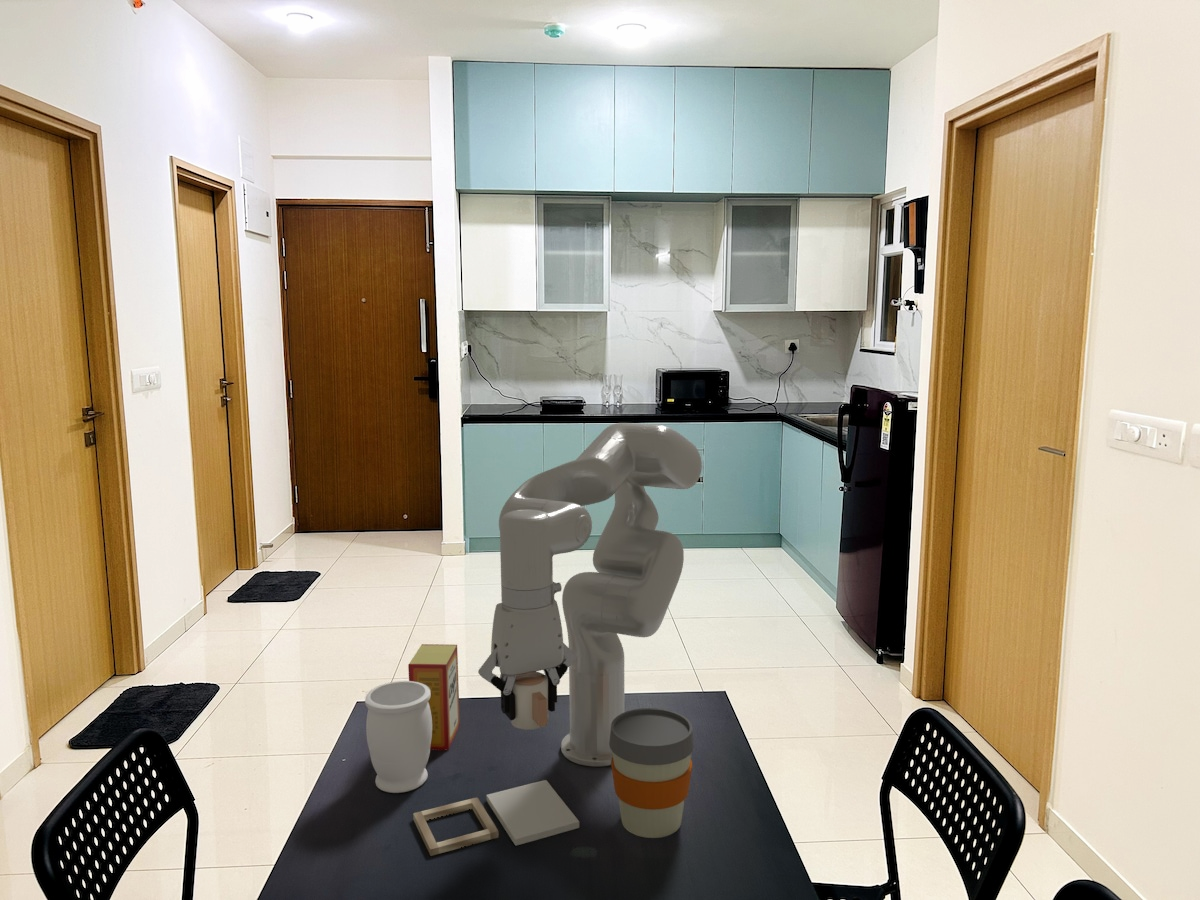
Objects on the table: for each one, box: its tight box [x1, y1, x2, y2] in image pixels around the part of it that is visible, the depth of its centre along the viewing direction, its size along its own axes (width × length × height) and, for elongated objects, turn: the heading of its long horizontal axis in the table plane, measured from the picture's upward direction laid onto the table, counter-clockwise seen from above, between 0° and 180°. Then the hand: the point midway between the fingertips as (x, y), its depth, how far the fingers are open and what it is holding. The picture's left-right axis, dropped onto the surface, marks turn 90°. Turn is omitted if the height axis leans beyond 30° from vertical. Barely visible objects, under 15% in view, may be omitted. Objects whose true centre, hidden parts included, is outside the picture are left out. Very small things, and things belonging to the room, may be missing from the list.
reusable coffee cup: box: [609, 707, 695, 839], centre depth 128 cm, size 13×13×15 cm
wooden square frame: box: [412, 797, 499, 857], centre depth 128 cm, size 10×10×1 cm
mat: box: [486, 779, 580, 846], centre depth 131 cm, size 10×13×1 cm
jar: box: [364, 680, 432, 794], centre depth 140 cm, size 11×10×15 cm
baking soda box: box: [407, 643, 461, 751], centre depth 154 cm, size 10×6×16 cm
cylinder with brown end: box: [510, 671, 549, 731], centre depth 127 cm, size 8×6×7 cm
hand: (529, 710), depth 129 cm, fingers closed on cylinder with brown end, 5 cm apart
